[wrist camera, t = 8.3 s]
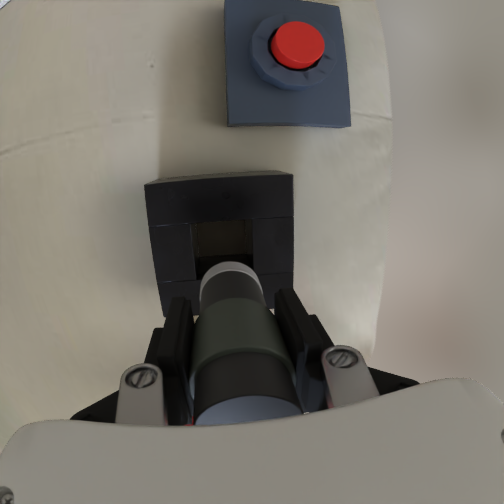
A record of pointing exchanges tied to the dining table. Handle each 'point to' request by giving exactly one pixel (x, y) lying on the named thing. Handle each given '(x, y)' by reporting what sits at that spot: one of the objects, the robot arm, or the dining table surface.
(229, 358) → the banded grey cylinder
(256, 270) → the holder
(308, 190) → the dining table surface
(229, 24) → the station
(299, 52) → the power button
